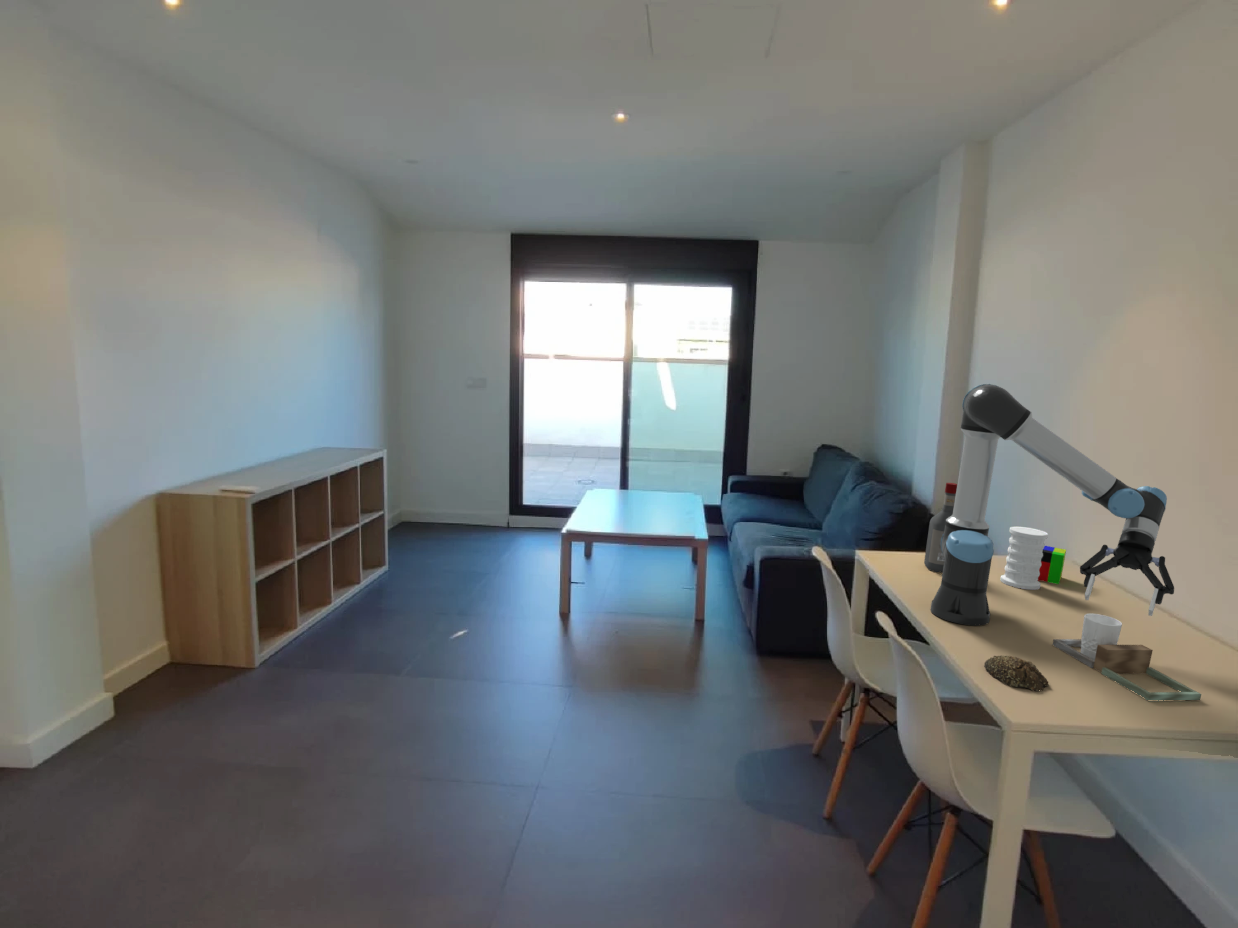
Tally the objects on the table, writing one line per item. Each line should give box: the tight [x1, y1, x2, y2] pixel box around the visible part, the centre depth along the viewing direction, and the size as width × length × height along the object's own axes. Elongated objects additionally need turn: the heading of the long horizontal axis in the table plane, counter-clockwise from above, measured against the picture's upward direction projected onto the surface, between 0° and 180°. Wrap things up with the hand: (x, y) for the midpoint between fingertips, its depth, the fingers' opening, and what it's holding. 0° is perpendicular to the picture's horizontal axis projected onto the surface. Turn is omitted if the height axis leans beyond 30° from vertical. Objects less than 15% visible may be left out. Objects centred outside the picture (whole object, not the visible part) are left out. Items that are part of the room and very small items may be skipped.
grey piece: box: [1051, 638, 1202, 702], centre depth 171 cm, size 13×29×6 cm, turn 8°
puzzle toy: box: [1038, 545, 1067, 585], centre depth 243 cm, size 10×10×10 cm
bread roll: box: [983, 654, 1049, 692], centre depth 164 cm, size 13×12×5 cm
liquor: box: [923, 482, 958, 574], centre depth 243 cm, size 9×9×30 cm
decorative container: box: [999, 526, 1049, 591], centre depth 233 cm, size 12×12×18 cm
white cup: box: [1079, 612, 1123, 661], centre depth 178 cm, size 8×8×10 cm
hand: (1117, 605), depth 182 cm, fingers open, 13 cm apart
